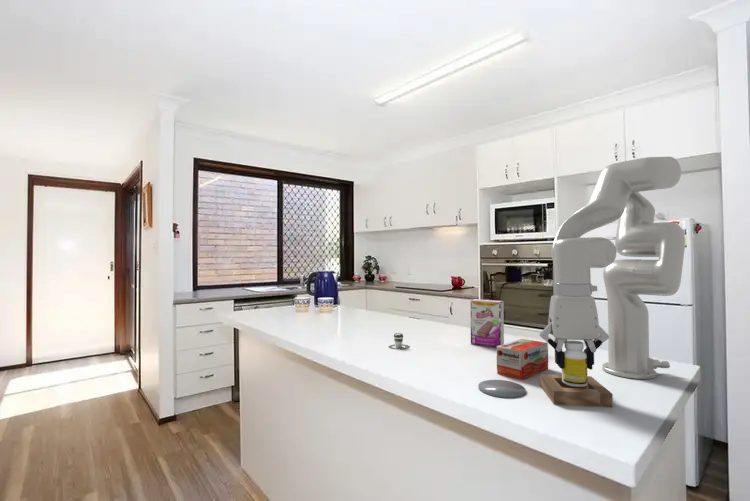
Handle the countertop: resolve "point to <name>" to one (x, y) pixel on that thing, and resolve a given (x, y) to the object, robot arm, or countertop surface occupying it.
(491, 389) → the coaster
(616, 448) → the countertop surface
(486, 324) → the candy bar box
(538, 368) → the medicine box
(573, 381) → the supplement bottle
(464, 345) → the countertop surface
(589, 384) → the pocket holder
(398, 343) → the sink strainer
